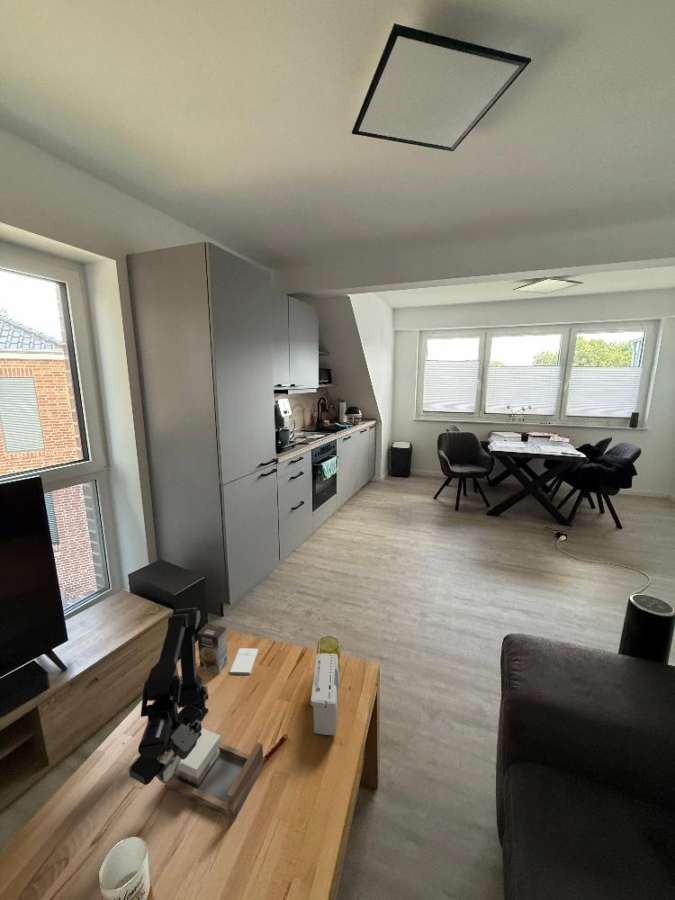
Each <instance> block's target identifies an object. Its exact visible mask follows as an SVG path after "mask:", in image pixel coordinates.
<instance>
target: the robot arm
mask: <svg viewBox="0 0 675 900" xmlns="http://www.w3.org/2000/svg"><path fill="white" fill-rule="evenodd" d="M167 619H168V620H167V631H166V632H165V634H166V635H165V637H164V641H163V645H162V649H161V652H160V655H159V659H158V662H156V664H155V665H154V666H153V667H152V668H151V669H150V671H149V673H148V676H147V679H146V680H145V681H144V685H143V690H142V699H141V707H140V709H141V710H140V718H143V717H144V718H145V717H147V723H146V725H145V728H144V731H143V733H142V736H141V739H140V742H139V744H138V749H137V750H138V754H139V756H138V757H137V758H136V759H135V760H134V762H132V763H131V765H130V766H129V768H128V769H129V770H128V774H129V777H130V778H132V779H134V780H135V781H136V782H137V781H138V782H139V783H141V784H142V785H144V786H147V785H149V784H150V783H151V782H152V781H153V780H154V779H155V777H156V778H157V779H158V780H159V781H160V780H161V781H162V780H163V768H164V766H165V764H163V762H162V757H164V755H165V754H166V753H169V752H170V751H171V752H172V751H173V752H174V753H176V754H177V755H178V756H179V757H180V758H181V759H185V758H187V756H188V755H189V754H190V752H191V751H192V750H193V748H194V747H195V746H196V743H197V740H198V739H199V737H200V736H201V735H202V733H201V730H202V728H203V727H202V723H201V721H202V720H203V719H204V717H205V716H206V715H207V714H208V713H209V708H207V707H206V701H208V700H209V691H208V686H207V685H206V686H205V685H204V681H203V678H202V677H201V676H200V675H199V674H198V671H197V670H198V669H197V655H196V643H195V642H196V640H195V639H196V638H195V634H196V632H197V628H198V625H199V623H200V620H201V611H200V610H199V608H197V607H189V608H188V607H187V608H181V609H180V608H179V609H175V610H174V613H170V614H169V615H168V618H167ZM179 656H180V657H179ZM179 660H180V672H181V679H180V674H179V670H178V666H177V665H178V661H179ZM152 701H153V702H152ZM149 702H152V703H151V704H148V703H149ZM181 708H182V709H181ZM178 709H181V710H180V711H179V710H178ZM161 781H160V782H161Z"/></svg>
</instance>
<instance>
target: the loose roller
mask: <svg viewBox="0 0 675 900" xmlns="http://www.w3.org/2000/svg"><path fill="white" fill-rule="evenodd" d="M184 760H185V759H181V758H180V757H179V756H178V755H177V754H176V753H174V752H173V751H172V750H171V752H170V753H169V754H168V756H167V757H166V758H165V759H164V760H163V761H162V763H163V764H165V766H164V768H163V780H162V781H161V780H159V782H161V783H163V784H165V783H167V781H168V780H169V779H170V778H171V777H172V775H173V774H174V773H175V771H176V770H177V769H178V767H179V766H180V765H181V763H182V762H183V761H184Z"/></svg>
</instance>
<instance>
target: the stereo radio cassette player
mask: <svg viewBox="0 0 675 900" xmlns="http://www.w3.org/2000/svg"><path fill="white" fill-rule="evenodd" d="M320 643H321V639H318V653H317V654H316V655H315V656H316V657H315V663H314V672H313V679H312V688H311V696H310V705H311V706H312V709H313V712H312V713H313V733H314V734H317V735H325V736H335V735H336V733H337V724H338V723H337V722H338V721H337V720H338V702H339V701H338V698H339V676H340V675H339V669H340V667H339V666H340V665H339V656H338V654H336V653H330V654H329V653H328V652H327V653H326V652H325V653H320V650H321V649H320V647H321V644H320Z"/></svg>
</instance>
